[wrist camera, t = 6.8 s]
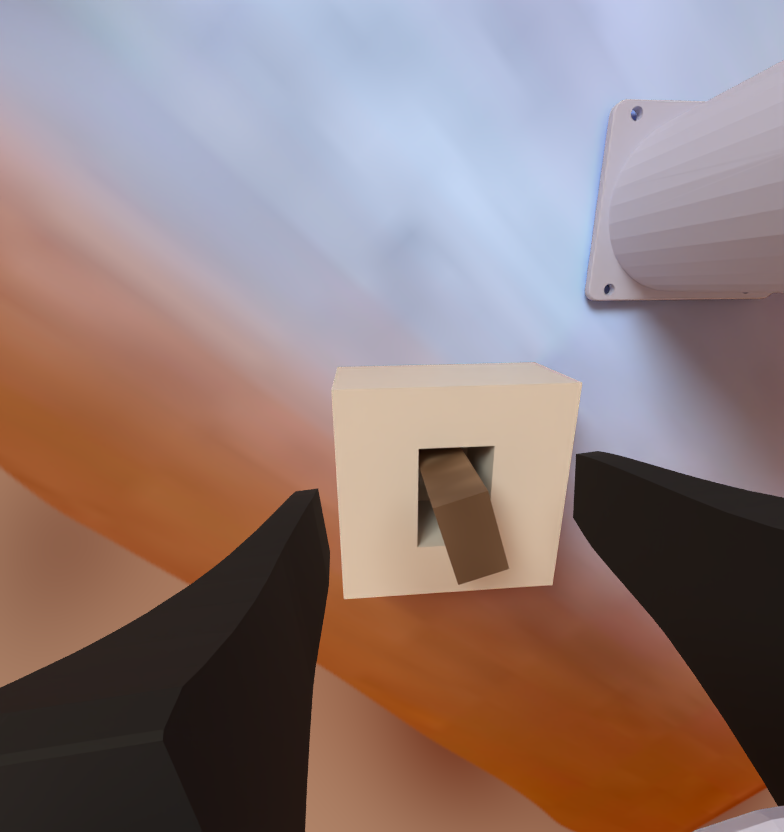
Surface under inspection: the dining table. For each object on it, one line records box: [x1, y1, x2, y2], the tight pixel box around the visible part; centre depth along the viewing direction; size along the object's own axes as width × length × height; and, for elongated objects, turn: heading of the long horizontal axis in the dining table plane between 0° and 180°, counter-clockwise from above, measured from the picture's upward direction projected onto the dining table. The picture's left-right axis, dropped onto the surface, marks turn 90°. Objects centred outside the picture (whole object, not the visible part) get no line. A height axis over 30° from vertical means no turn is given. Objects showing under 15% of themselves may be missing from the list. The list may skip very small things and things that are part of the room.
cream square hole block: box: [331, 362, 582, 599], centre depth 19 cm, size 10×10×4 cm
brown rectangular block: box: [418, 447, 509, 585], centre depth 17 cm, size 2×4×7 cm, turn 18°
